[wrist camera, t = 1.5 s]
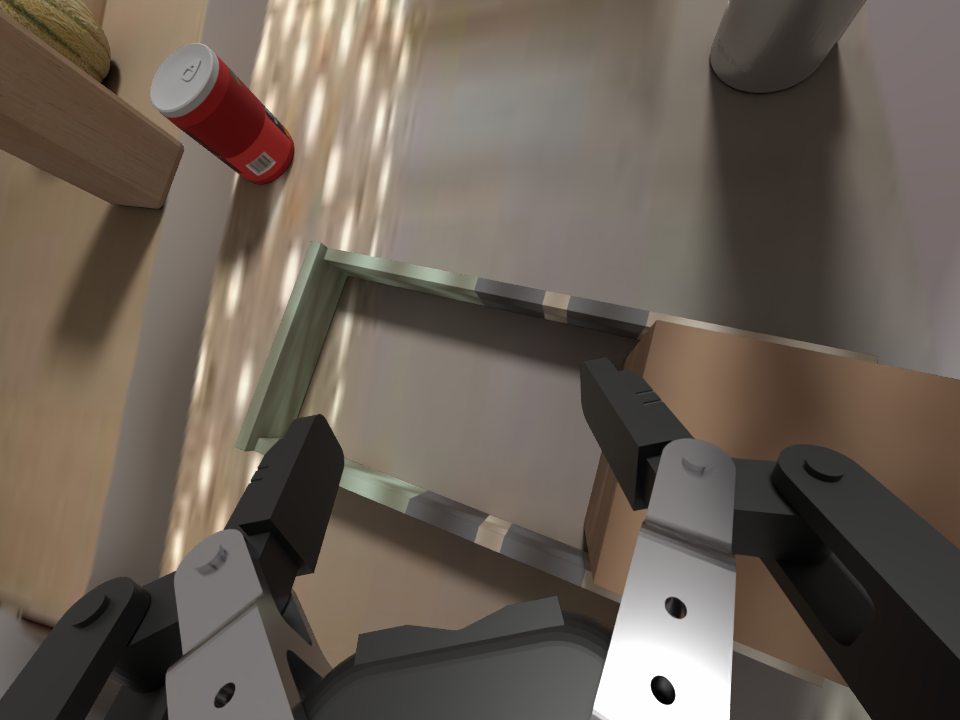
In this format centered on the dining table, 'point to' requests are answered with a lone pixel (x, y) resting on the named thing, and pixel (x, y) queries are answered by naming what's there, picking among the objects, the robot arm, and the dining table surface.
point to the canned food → (221, 113)
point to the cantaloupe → (65, 31)
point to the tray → (281, 406)
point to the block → (79, 125)
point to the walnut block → (771, 428)
